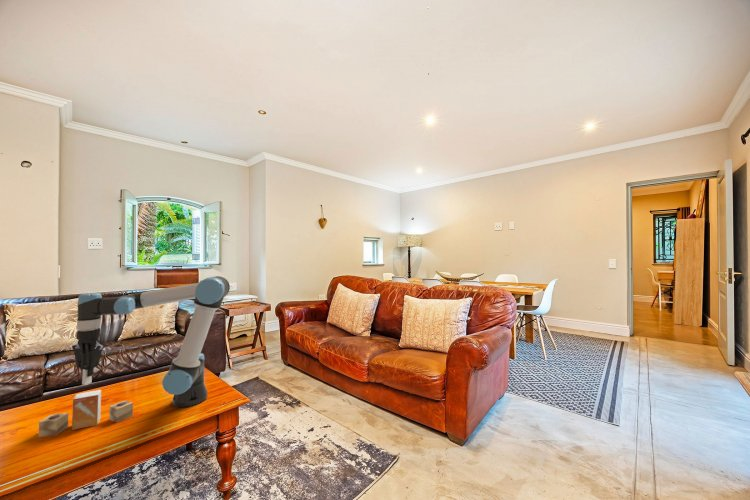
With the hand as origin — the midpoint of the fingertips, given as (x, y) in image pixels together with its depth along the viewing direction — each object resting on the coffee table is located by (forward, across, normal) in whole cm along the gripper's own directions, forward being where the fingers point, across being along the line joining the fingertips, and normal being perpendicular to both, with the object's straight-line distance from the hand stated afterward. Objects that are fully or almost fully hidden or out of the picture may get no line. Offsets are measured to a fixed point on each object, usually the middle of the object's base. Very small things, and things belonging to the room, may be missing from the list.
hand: (86, 383), depth 131 cm
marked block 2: (+18, -10, -6) cm, 21 cm away
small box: (+18, 0, 0) cm, 18 cm away
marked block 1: (+18, +8, +6) cm, 20 cm away
